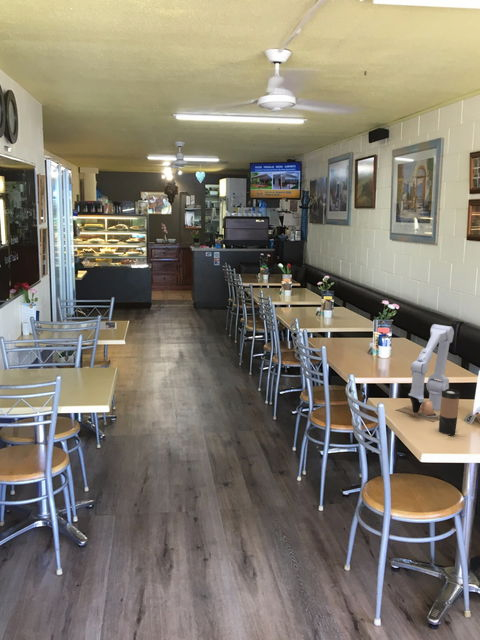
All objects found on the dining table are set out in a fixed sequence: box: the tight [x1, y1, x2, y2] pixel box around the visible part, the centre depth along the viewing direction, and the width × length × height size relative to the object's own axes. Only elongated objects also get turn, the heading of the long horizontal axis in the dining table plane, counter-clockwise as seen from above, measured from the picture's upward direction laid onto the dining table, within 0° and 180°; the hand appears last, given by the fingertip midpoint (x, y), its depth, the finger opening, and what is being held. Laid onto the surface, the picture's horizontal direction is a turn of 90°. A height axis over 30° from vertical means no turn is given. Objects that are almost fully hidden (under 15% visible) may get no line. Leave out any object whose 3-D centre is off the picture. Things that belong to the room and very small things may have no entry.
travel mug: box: [438, 388, 460, 437], centre depth 279 cm, size 8×8×20 cm
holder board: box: [394, 405, 440, 423], centre depth 304 cm, size 12×22×2 cm, turn 40°
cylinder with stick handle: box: [411, 400, 435, 415], centre depth 301 cm, size 10×5×6 cm, turn 85°
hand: (415, 412), depth 300 cm, fingers closed
